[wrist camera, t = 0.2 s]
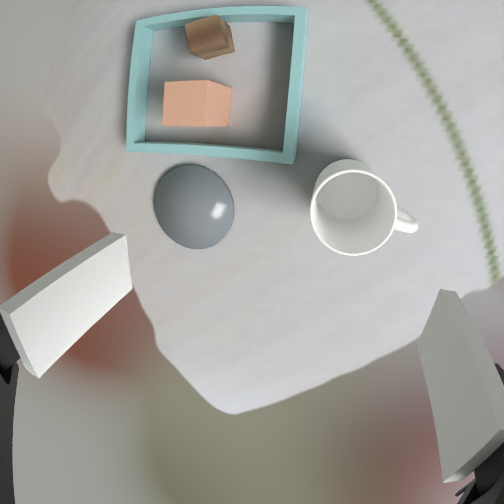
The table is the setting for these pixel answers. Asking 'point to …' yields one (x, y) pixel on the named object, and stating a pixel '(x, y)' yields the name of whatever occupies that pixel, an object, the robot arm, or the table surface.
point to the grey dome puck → (194, 206)
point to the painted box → (196, 104)
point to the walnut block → (209, 37)
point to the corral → (228, 14)
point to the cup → (355, 209)
